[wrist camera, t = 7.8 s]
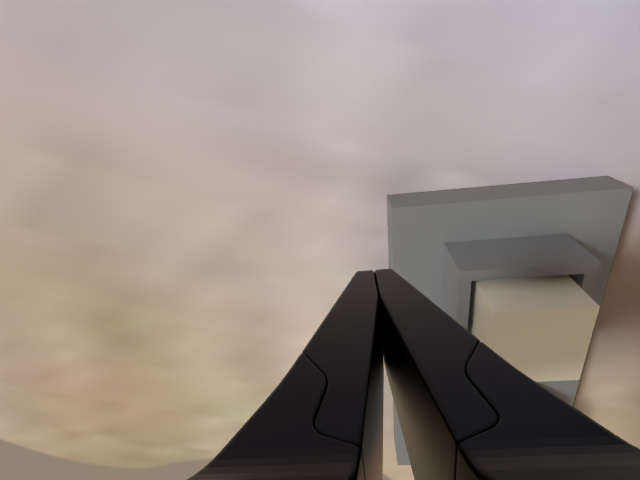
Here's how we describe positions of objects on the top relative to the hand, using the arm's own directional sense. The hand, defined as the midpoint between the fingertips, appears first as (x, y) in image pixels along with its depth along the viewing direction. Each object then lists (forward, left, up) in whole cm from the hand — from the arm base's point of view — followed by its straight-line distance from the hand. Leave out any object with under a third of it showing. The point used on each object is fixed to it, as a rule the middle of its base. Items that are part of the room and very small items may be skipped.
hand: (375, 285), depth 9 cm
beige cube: (-8, +8, -10) cm, 15 cm away
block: (-8, +14, -13) cm, 20 cm away
